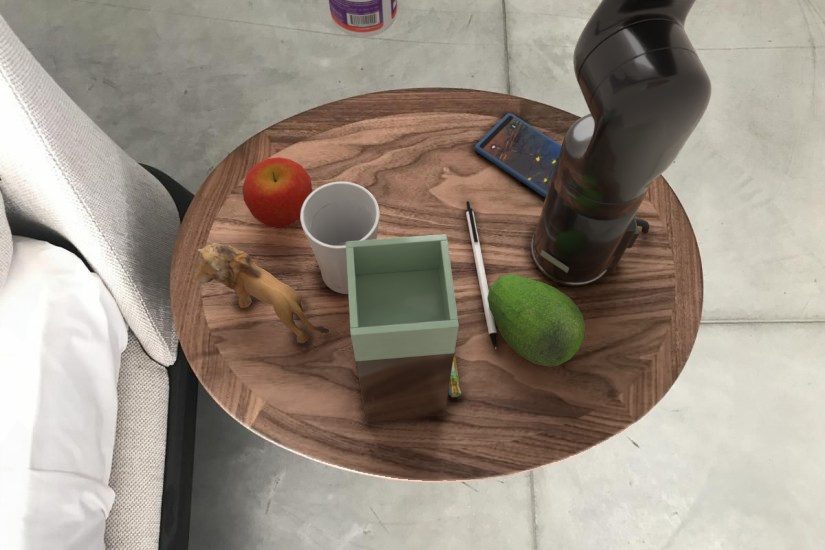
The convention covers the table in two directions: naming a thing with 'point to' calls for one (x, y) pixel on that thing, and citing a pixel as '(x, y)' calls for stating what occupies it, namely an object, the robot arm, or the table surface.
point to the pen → (481, 274)
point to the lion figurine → (253, 285)
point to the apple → (276, 191)
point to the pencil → (454, 381)
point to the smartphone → (521, 152)
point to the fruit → (536, 319)
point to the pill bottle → (363, 16)
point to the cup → (338, 226)
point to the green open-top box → (402, 324)
